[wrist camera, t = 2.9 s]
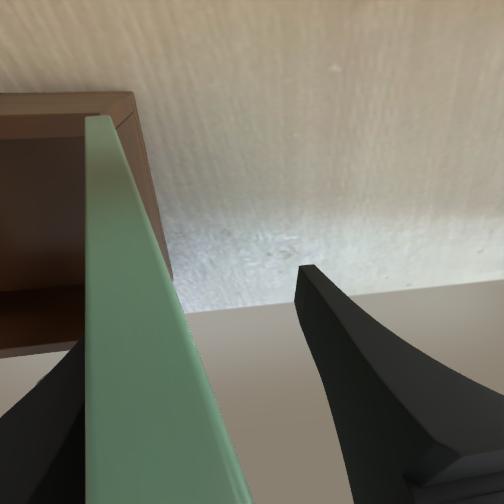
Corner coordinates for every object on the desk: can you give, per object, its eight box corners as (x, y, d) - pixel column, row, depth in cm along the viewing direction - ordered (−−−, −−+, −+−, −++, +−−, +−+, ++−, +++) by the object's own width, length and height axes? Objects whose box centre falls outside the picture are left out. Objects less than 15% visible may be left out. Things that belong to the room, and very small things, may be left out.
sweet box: (-21, 294, 20) (-87, 369, 15) (-181, 95, 13) (-404, 123, 8) (173, 276, 22) (166, 339, 17) (133, 91, 14) (100, 112, 10)
